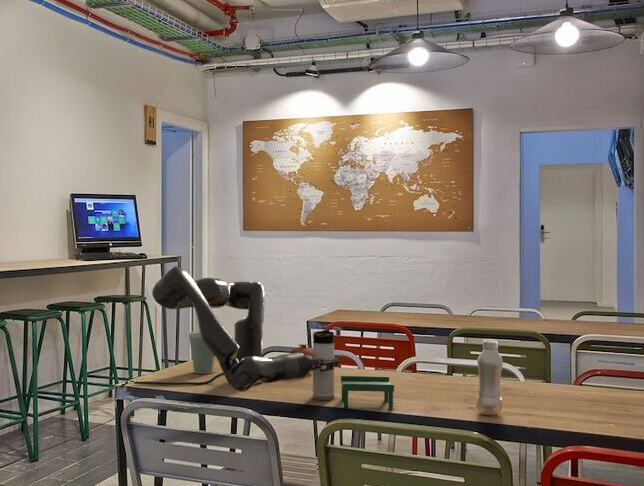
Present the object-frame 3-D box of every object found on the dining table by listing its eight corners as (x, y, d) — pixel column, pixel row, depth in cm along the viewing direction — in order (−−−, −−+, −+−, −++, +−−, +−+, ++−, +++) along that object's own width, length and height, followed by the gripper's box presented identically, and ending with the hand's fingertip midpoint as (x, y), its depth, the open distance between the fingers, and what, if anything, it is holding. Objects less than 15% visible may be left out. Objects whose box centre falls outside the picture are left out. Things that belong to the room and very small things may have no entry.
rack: (343, 409, 207) (343, 383, 207) (340, 399, 219) (340, 375, 219) (394, 410, 206) (394, 384, 206) (388, 400, 218) (388, 376, 218)
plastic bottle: (472, 412, 204) (473, 339, 203) (495, 411, 204) (496, 339, 204) (481, 417, 197) (482, 343, 197) (506, 417, 198) (507, 342, 197)
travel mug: (336, 396, 224) (336, 330, 223) (331, 400, 218) (331, 333, 217) (315, 395, 226) (315, 329, 225) (310, 399, 220) (310, 332, 219)
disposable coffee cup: (187, 375, 258) (187, 332, 257) (190, 369, 269) (190, 328, 268) (217, 375, 258) (217, 332, 257) (219, 369, 268) (219, 328, 268)
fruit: (306, 369, 269) (306, 341, 269) (323, 373, 260) (323, 345, 260) (282, 371, 264) (282, 343, 263) (298, 376, 255) (298, 347, 255)
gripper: (272, 376, 218) (312, 369, 228) (307, 383, 207) (347, 376, 217) (272, 350, 217) (312, 345, 228) (307, 357, 206) (347, 350, 217)
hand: (329, 360), depth 223 cm, fingers closed on travel mug, 6 cm apart
